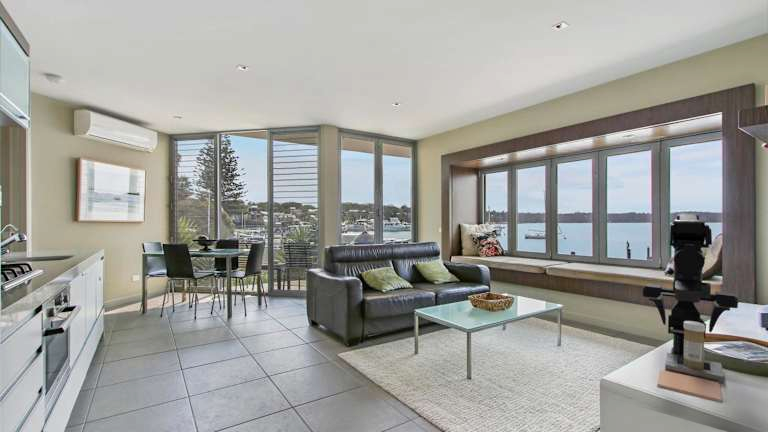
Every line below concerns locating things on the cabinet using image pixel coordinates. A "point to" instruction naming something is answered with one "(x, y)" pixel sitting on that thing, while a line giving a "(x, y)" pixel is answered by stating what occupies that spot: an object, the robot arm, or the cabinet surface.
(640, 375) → the cabinet surface
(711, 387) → the terracotta tile
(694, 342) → the sprinkles bottle
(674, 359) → the collar stand
